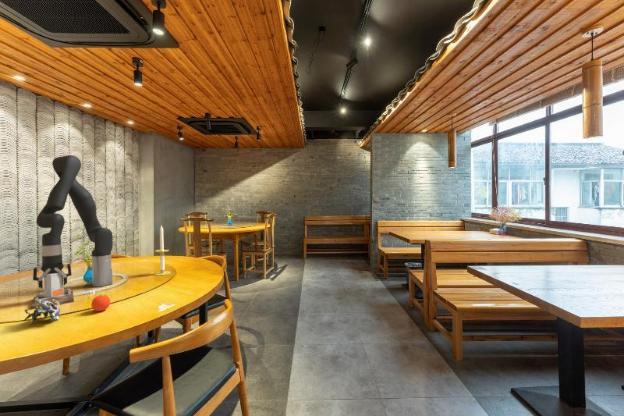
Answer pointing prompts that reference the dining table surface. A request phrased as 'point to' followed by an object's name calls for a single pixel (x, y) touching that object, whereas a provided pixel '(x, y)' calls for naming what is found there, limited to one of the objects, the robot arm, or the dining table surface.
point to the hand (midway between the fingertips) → (53, 286)
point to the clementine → (101, 302)
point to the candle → (162, 255)
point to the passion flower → (45, 310)
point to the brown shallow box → (62, 299)
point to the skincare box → (53, 285)
